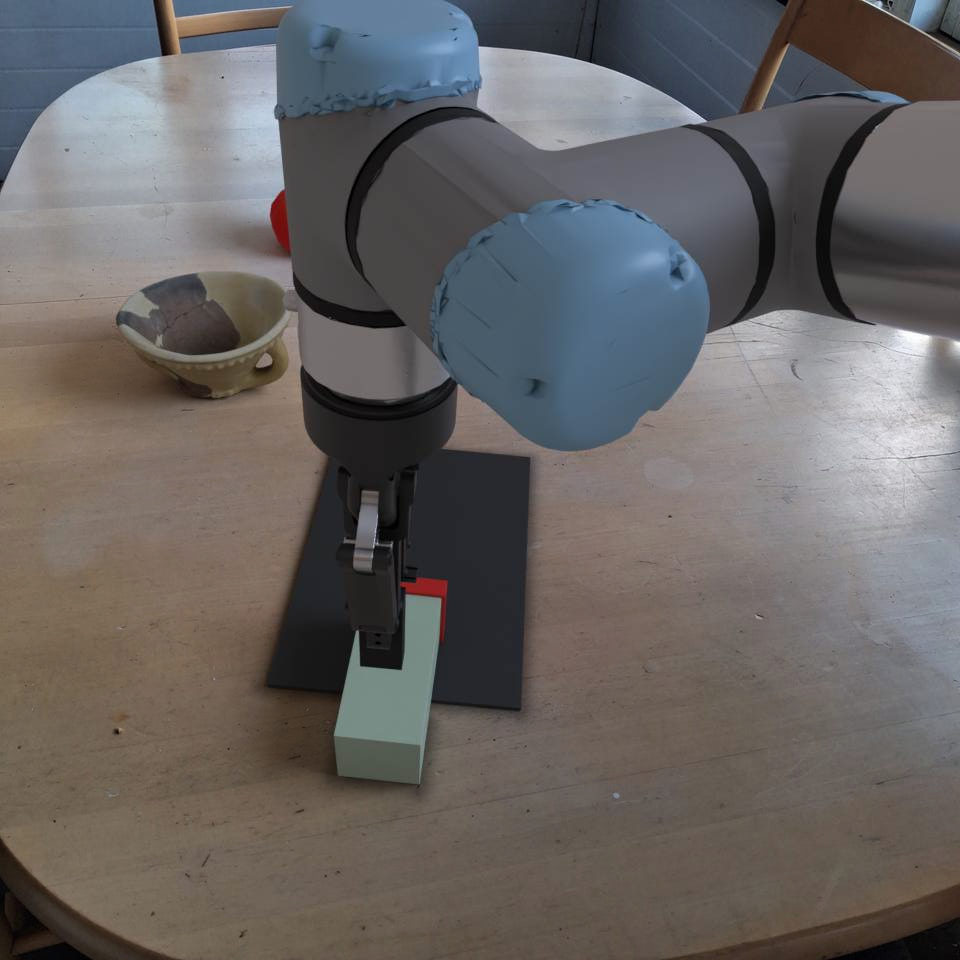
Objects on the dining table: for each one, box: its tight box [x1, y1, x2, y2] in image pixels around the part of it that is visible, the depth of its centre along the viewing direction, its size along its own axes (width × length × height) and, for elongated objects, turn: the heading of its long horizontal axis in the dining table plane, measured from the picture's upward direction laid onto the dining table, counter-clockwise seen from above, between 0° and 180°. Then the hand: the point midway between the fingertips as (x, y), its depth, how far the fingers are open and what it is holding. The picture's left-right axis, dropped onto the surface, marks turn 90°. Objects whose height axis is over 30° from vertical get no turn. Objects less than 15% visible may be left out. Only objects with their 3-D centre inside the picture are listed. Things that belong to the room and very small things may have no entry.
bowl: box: [115, 270, 293, 399], centre depth 96 cm, size 18×18×10 cm
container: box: [333, 578, 447, 785], centre depth 69 cm, size 7×7×14 cm
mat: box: [266, 448, 531, 712], centre depth 82 cm, size 30×20×1 cm, turn 176°
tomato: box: [269, 188, 291, 253], centre depth 119 cm, size 9×10×8 cm
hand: (382, 658), depth 59 cm, fingers closed
